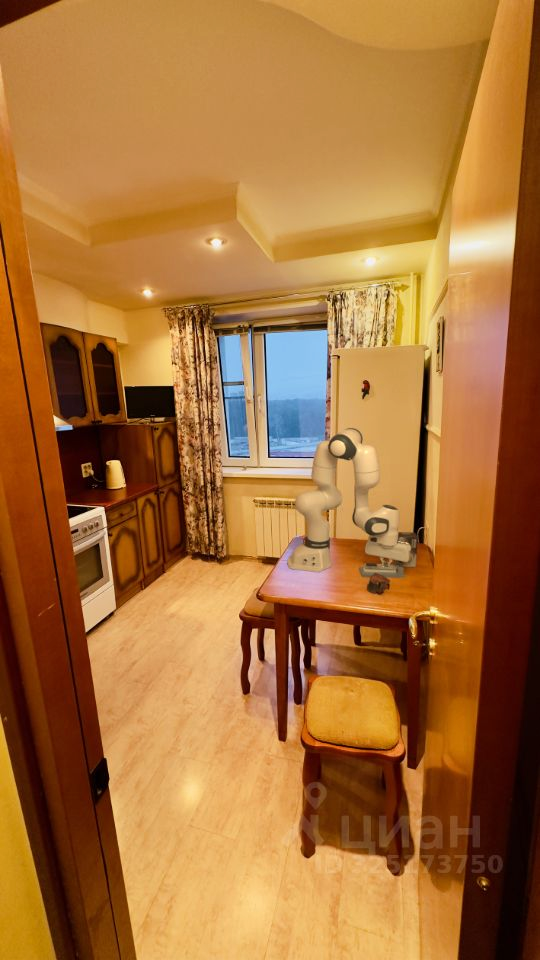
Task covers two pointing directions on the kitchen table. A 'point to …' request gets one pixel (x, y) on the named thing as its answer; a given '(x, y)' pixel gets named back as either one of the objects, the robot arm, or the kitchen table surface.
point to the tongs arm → (380, 566)
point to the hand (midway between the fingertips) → (386, 565)
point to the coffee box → (413, 541)
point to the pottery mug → (381, 583)
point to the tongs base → (383, 572)
